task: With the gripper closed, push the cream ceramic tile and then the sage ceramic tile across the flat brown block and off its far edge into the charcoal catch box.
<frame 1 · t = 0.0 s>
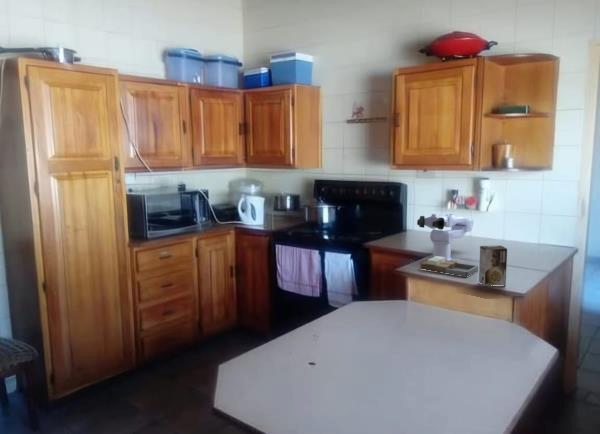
hand: (425, 223, 224), 22 cm above the counter, tool horizontal, fingers open, 7 cm apart
catch box: (461, 272, 219), on the counter
flat brown block: (438, 268, 226), on the counter
cream tile: (438, 261, 227), point 3 cm above the counter, touching flat brown block
coffee box: (491, 285, 200), on the counter
sage tile: (433, 263, 223), point 3 cm above the counter, touching flat brown block
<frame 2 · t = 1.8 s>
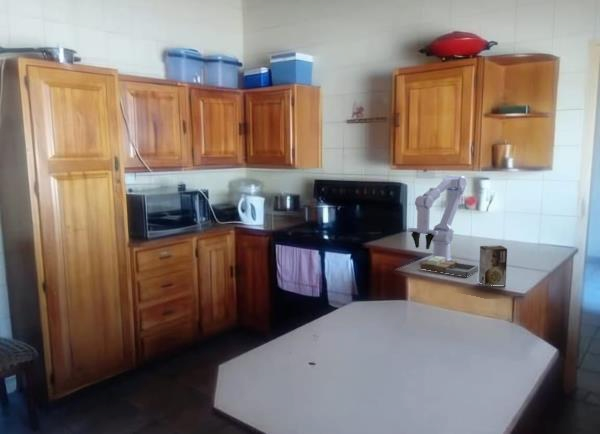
hand: (422, 248, 232), 8 cm above the counter, tool pointing down, fingers open, 5 cm apart
nothing on the counter moved.
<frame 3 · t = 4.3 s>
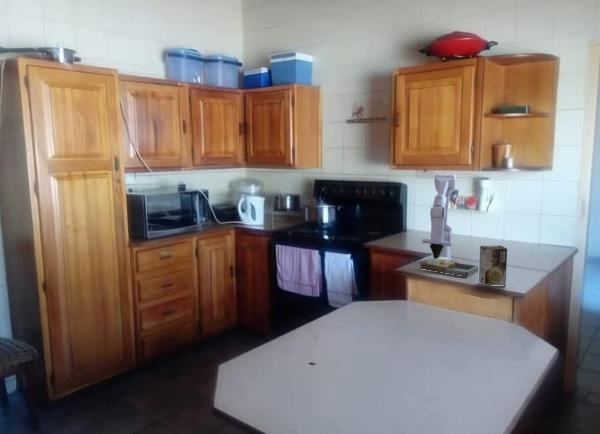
hand: (436, 259, 228), 4 cm above the counter, tool pointing down, fingers closed
cream tile: (442, 262, 226), point 3 cm above the counter, touching gripper
everything else where it was.
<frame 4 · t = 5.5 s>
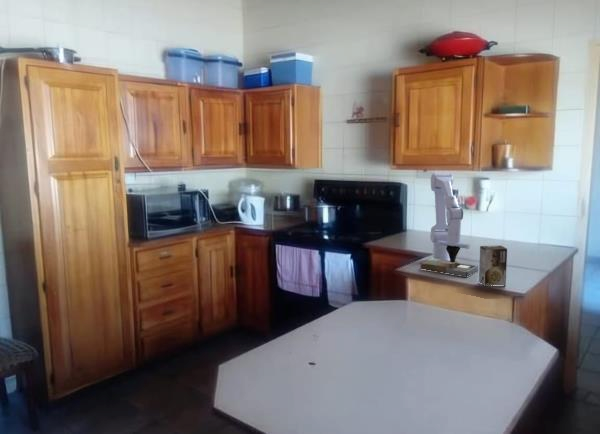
hand: (452, 261, 223), 4 cm above the counter, tool pointing down, fingers closed
cream tile: (463, 266, 220), point 2 cm above the counter, tilted 180°, touching catch box
everything else where it was.
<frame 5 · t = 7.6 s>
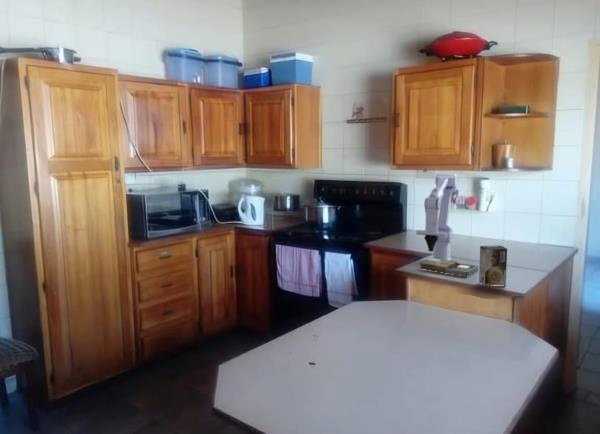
hand: (430, 251, 225), 8 cm above the counter, tool pointing down, fingers closed
nothing on the counter moved.
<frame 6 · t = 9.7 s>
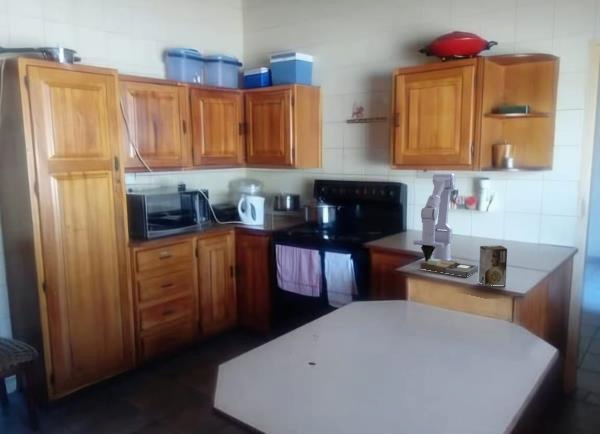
hand: (427, 261, 225), 4 cm above the counter, tool pointing down, fingers closed
sage tile: (434, 263, 223), point 3 cm above the counter, touching flat brown block, gripper
everything else where it was.
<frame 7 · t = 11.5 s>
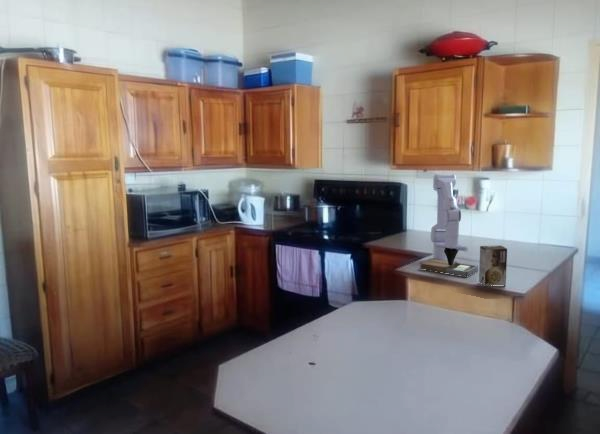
hand: (450, 264, 218), 4 cm above the counter, tool pointing down, fingers closed
sage tile: (460, 269, 215), point 2 cm above the counter, tilted 180°, touching catch box
everything else where it was.
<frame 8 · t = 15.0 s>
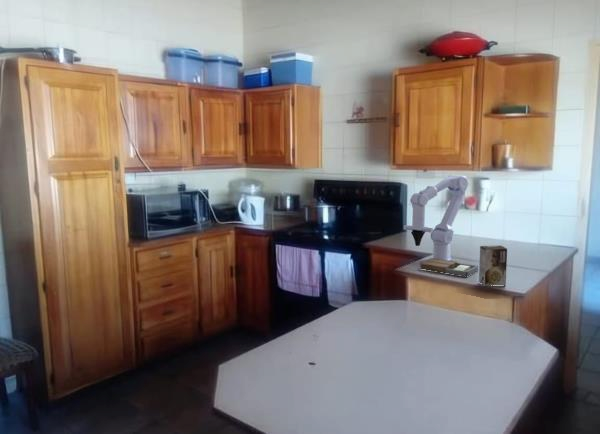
hand: (417, 245, 233), 9 cm above the counter, tool pointing down, fingers closed
nothing on the counter moved.
at the end: cream tile inside the target area on the catch box (1.9 cm from its centre), point 2.5 cm above the catch box's base; sage tile inside the target area on the catch box (3.5 cm from its centre), point 2.5 cm above the catch box's base; coffee box moved 0.2 cm from its start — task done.
